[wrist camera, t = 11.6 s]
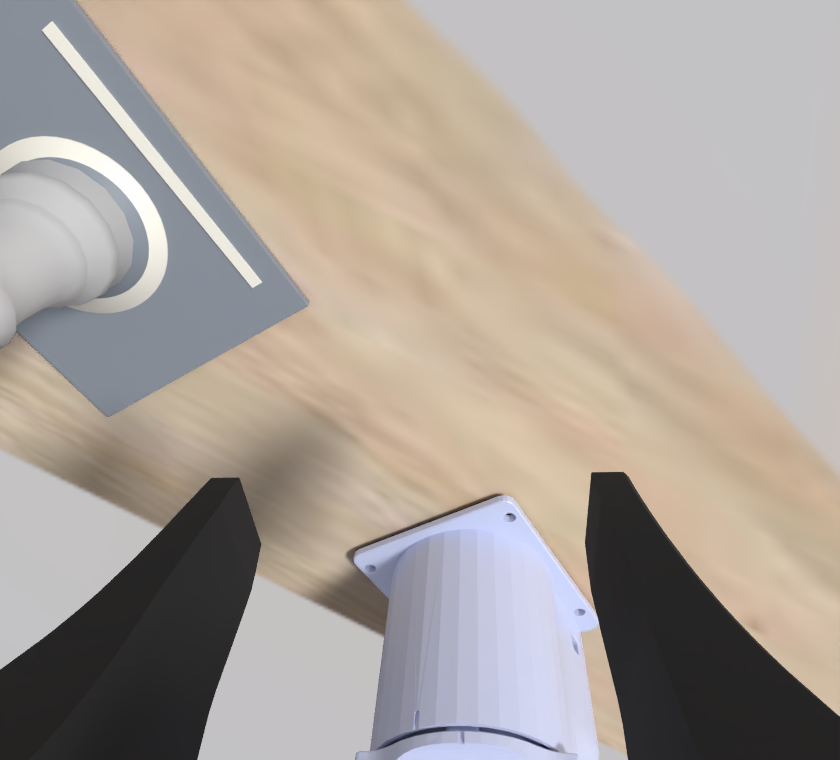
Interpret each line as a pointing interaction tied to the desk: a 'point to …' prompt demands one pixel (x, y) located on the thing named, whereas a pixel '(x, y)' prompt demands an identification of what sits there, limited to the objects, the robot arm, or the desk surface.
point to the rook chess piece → (56, 241)
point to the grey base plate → (131, 215)
